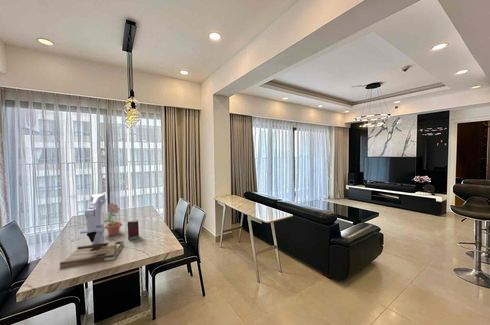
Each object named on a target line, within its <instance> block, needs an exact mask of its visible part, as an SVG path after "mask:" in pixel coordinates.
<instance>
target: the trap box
mask: <svg viewBox="0 0 490 325" xmlns="http://www.w3.org/2000/svg"><path fill="white" fill-rule="evenodd" d="M114 242H116V244H117V248H116V250H115V251H113V252H107V245H108V244H109V243H114ZM124 243H125V242H124V240H122V241H121V240H120V241H112V242H105V243H103V244H95V245H92V244H90V245H88V244H87V245H80V246H77V248H76V250H75V251H74V252H72V253H71V254H70V255H69V256H68V257H67V258H66V259H65V260H63V261H60V262H59V268H66V267H67V268H68V267H73V266H79V265H80V266H81V265H87V264H92V263H93V264H94V263H99V262H106V261H113V260H115V259H116V258H117V256H118V254H119V253H120V251H121V250H122V248H123V247H124Z"/></svg>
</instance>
